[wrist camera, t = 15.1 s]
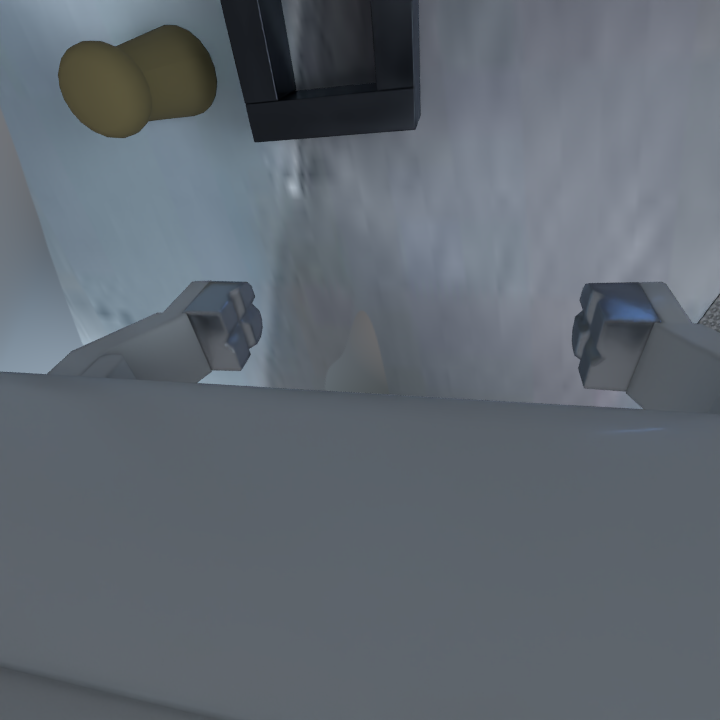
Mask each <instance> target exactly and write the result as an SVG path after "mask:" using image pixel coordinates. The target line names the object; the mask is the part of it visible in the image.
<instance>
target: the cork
mask: <svg viewBox="0 0 720 720" xmlns="http://www.w3.org/2000/svg"><path fill="white" fill-rule="evenodd" d="M58 78H59V86H60V89H61V92H62V95H63V97H64V100H65V102H66V103H67V105H68V107H69V108H70V110H71V111H72V113H73V114H74V115H75V116H76V117H77V118H78V119H79V120H80V122H81V123H83V124H84V125H85V126H87V127H88V128H90V129H91V130H93V131H94V132H96V133H99V134H101V135H104V136H106V137H113V138H126V137H128V136H131V135H134V134H136V133H138V132H139V131H140V130H141V129H142V128H143V127H144V126H145V125H146V124H147V122H148V121H154V120H163V119H171V118H180V117H189V116H196V115H199V114H201V113H204V112H205V111H206V110H207V109H208V108H209V107H210V106H211V105H212V102H213V100H214V98H215V95H216V87H217V79H216V73H215V67H214V65H213V62H212V60H211V58H210V55H209V53H208V52H207V50H206V49H205V47H204V46H203V44H202V43H201V42H200V40H199V39H197V38H196V37H195V36H194V35H193V34H192V33H190V32H189V31H188V30H185V29H183V28H181V27H179V26H176V25H164V26H161V27H159V28H157V29H154V30H152V31H150V32H147V33H145V34H143V35H141V36H138V37H136V38H134V39H131V40H129V41H127V42H125V43H122V44H120V45H118V46H112V45H110V44H108V43H105V42H102V41H82V42H80V43H78V44H76V45H73V46H72V47H70V48H69V49H67V51H66V52H65V54H64V55H63V57H62V58H61V62H60V66H59V72H58Z"/></svg>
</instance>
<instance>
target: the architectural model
mask: <svg viewBox="0 0 720 720" xmlns="http://www.w3.org/2000/svg"><path fill="white" fill-rule="evenodd" d="M698 324H703V325H705V326H707V327H709V328H711V329H713V330H715V331H717V332H719V333H720V295H719V297H718V298H717V299H716V301H715V302H714V303H713V305H712V306H711V307H710V309H709V310H708V311H707V312H706V314H705V315H704V316H703V318H702V319H701V320H700V322H699V323H698Z"/></svg>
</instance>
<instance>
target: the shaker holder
mask: <svg viewBox="0 0 720 720" xmlns="http://www.w3.org/2000/svg"><path fill="white" fill-rule="evenodd" d="M220 1H221V5H222V10H223V14H224V18H225V22H226V26H227V30H228V35H229V39H230V43H231V47H232V51H233V55H234V59H235V64H236V68H237V72H238V76H239V80H240V84H241V89H242V93H243V97H244V101H245V104H246V109H247V113H248V118H249V122H250V126H251V130H252V134H253V138H254V142H266V141H279V140H291V139H304V138H316V137H329V136H342V135H354V134H367V133H379V132H392V131H404V130H415V129H416V126H417V124H418V121H419V119H420V116H421V105H420V49H419V0H370V2H371V16H372V30H373V44H374V58H375V72H376V83H366V84H357V85H347V86H338V87H328V88H319V89H309V90H300V91H296V85H295V79H294V73H293V67H292V61H291V56H290V50H289V44H288V38H287V32H286V27H285V21H284V15H283V9H282V3H281V0H220Z"/></svg>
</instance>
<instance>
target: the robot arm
mask: <svg viewBox="0 0 720 720" xmlns="http://www.w3.org/2000/svg"><path fill="white" fill-rule="evenodd" d="M254 298H255V295H254V292H253V289H252V286H251V285H250V284H249V283H248V282H233V281H194V282H191V284H190V285H189V286H188V287H187V288H186V289H185V290H184V291H183V292H182V293H181V294H180V295H179V296H178V297H177V298H176V299H175V300H174V301H173V303H172V304H171V305H170V306H169V307H168V308H167V309H166V310H165V311H164V312H163V313H156V314H153V315H151V316H149V317H147V318H145V319H142V320H140V321H138V322H136V323H133V324H131V325H129V326H127V327H125V328H122V329H120V330H118V331H116V332H113V333H111V334H109V335H107V336H104V337H102V338H100V339H98V340H96V341H93V342H91V343H89V344H87V345H84V346H82V347H80V348H78V349H76V350H73V351H71V352H70V353H69V354H68V355H67V356H66V357H65V358H64V359H63V360H62V361H60V362H59V363H58V364H57V365H56V366H55V367H54V368H53V369H52V370H51V371H50V372H49V373H48V374H32V373H16V372H15V373H14V372H0V720H720V333H719V332H717V331H715V330H713V329H711V328H709V327H707V326H705V325H703V324H694V323H692V322H691V320H690V319H689V317H688V316H687V314H686V313H685V311H684V310H683V308H682V307H681V305H680V304H679V302H678V301H677V299H676V298H675V296H674V295H673V293H672V292H671V291H670V289H669V288H668V286H667V285H666V284H665V283H663V282H627V283H588V284H585V286H584V288H583V290H582V293H581V297H580V303H581V306H582V309H583V310H582V311H581V312H580V313H579V314H578V315H577V316H575V320H574V325H573V330H572V347H573V352H574V355H575V356H576V357H577V358H579V359H580V364H579V367H578V369H579V373H580V376H581V380H582V383H583V386H584V388H586V389H599V390H613V391H626V394H628V395H629V396H630V397H631V398H632V399H633V400H634V401H635V402H636V403H638V404H639V405H640V406H641V407H642V408H643V409H628V408H611V407H594V406H577V405H560V404H543V403H526V402H509V401H491V400H474V399H457V398H440V397H423V396H406V395H389V394H371V393H355V392H337V391H321V390H304V389H287V388H270V387H253V386H236V385H219V384H202V383H197V382H199V381H200V380H201V379H203V378H204V377H205V376H207V375H208V374H209V373H211V372H212V371H211V370H224V371H241V370H242V368H243V367H244V365H245V363H246V362H247V360H248V358H249V357H250V355H251V354H250V351H249V349H250V348H251V347H253V346H255V345H256V344H257V343H258V341H259V339H260V338H261V333H262V328H263V326H262V318H261V314H260V311H259V310H258V309H257V308H256V307H255V306H254V305H253V304H252V302H253V300H254Z"/></svg>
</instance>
